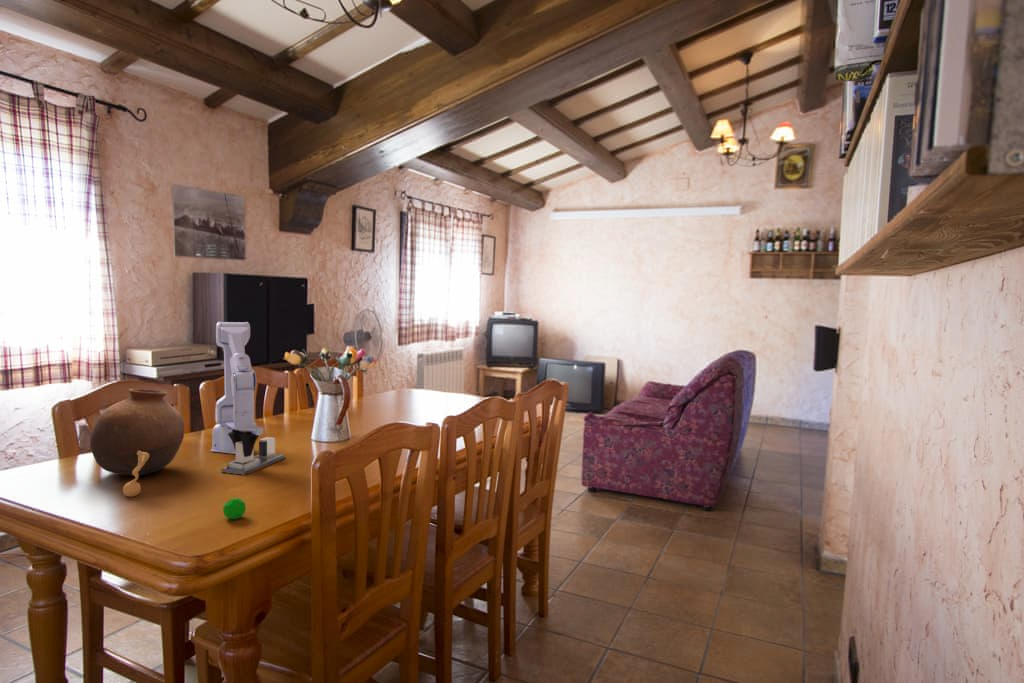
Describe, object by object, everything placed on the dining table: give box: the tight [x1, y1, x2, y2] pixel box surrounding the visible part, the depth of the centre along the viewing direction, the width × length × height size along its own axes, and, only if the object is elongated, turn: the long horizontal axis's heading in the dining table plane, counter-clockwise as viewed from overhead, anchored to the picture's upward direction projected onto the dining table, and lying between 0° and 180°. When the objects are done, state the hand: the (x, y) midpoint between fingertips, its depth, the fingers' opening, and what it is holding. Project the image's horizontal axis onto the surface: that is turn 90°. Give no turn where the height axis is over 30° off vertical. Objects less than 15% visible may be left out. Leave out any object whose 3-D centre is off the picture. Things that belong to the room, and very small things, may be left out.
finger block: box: [235, 441, 255, 463], centre depth 183 cm, size 3×4×6 cm
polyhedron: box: [222, 497, 247, 520], centre depth 144 cm, size 5×5×5 cm
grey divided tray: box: [220, 436, 286, 476], centre depth 188 cm, size 8×20×7 cm, turn 166°
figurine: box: [122, 451, 149, 498], centre depth 157 cm, size 8×6×12 cm
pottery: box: [89, 388, 186, 477], centre depth 175 cm, size 23×23×25 cm
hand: (244, 455), depth 183 cm, fingers closed on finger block, 3 cm apart
